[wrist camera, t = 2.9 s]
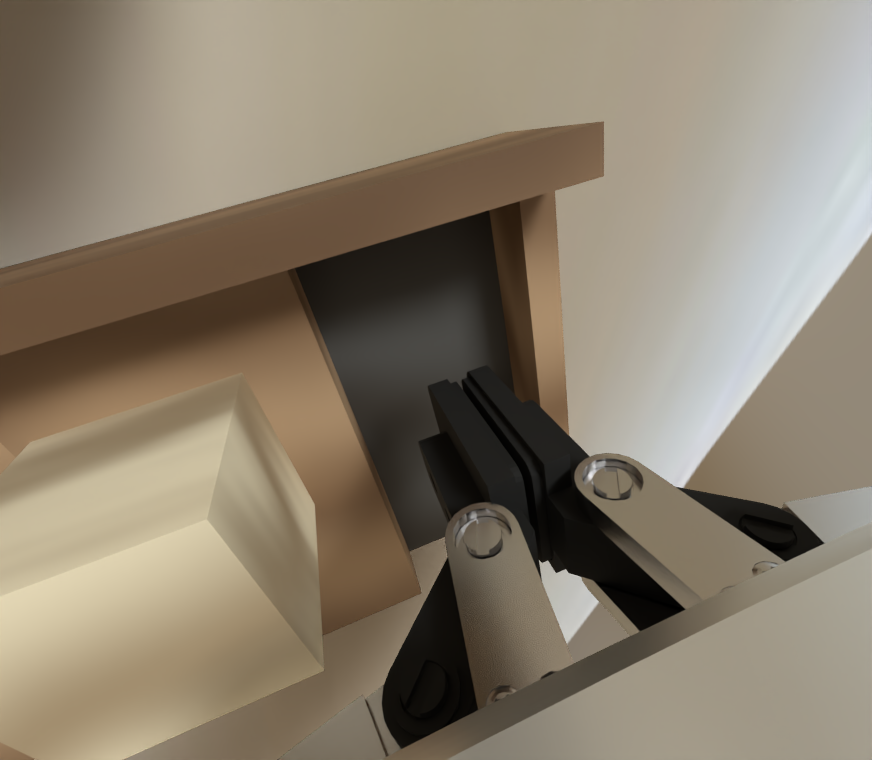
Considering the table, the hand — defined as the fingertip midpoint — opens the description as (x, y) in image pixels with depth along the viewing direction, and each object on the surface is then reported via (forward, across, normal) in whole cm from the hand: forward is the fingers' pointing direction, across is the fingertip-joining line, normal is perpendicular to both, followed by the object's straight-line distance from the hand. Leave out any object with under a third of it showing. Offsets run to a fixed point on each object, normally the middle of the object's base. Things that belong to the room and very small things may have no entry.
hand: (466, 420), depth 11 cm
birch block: (+2, +8, 0) cm, 8 cm away
